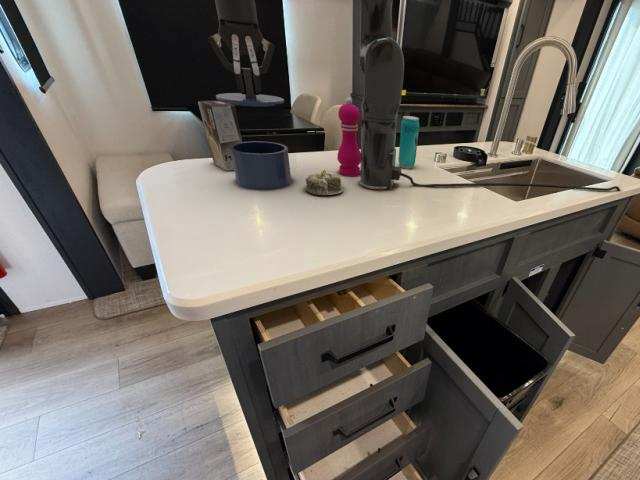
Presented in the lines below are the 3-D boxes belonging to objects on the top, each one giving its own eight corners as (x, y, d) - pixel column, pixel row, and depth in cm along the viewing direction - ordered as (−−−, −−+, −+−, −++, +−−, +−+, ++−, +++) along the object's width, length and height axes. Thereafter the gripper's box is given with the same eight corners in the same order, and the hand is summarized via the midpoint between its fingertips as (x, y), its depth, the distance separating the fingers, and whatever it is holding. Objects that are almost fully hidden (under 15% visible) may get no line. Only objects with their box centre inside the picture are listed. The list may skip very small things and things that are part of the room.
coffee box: (248, 168, 95) (236, 105, 85) (226, 171, 91) (211, 105, 81) (233, 160, 99) (220, 100, 90) (212, 163, 95) (196, 100, 86)
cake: (298, 194, 83) (294, 172, 80) (318, 184, 91) (316, 164, 87) (332, 198, 80) (329, 176, 77) (350, 188, 88) (349, 167, 85)
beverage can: (414, 170, 108) (420, 119, 99) (397, 168, 108) (401, 117, 99) (414, 165, 113) (419, 117, 104) (398, 163, 113) (402, 115, 104)
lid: (294, 103, 81) (291, 71, 77) (267, 110, 69) (262, 72, 65) (238, 96, 82) (232, 64, 78) (203, 102, 70) (194, 65, 66)
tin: (298, 177, 92) (295, 145, 87) (278, 192, 81) (273, 157, 76) (253, 171, 93) (247, 139, 88) (226, 185, 82) (218, 150, 77)
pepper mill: (359, 177, 97) (360, 100, 85) (335, 175, 96) (333, 97, 84) (362, 170, 102) (363, 97, 90) (339, 168, 102) (338, 94, 90)
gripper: (192, -17, 59) (216, 94, 69) (272, -4, 64) (284, 98, 74) (195, -12, 64) (217, 90, 75) (269, -1, 69) (280, 94, 80)
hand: (250, 93), depth 74 cm, fingers closed on lid, 2 cm apart
